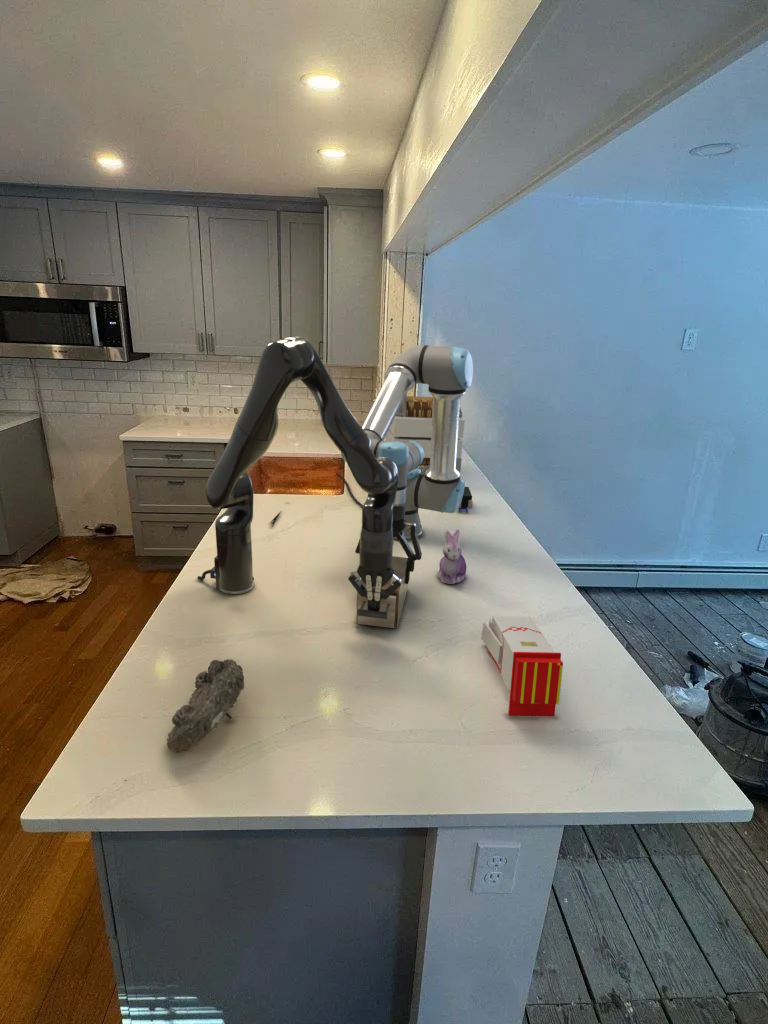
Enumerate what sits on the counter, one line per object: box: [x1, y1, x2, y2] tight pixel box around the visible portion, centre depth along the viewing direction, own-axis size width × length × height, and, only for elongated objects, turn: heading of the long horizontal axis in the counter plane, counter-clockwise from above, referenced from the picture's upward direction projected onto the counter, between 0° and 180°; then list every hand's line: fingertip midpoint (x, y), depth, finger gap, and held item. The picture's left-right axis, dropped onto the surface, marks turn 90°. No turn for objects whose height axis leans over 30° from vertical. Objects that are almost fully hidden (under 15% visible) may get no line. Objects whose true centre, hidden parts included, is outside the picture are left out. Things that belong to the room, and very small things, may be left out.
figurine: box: [438, 528, 467, 585], centre depth 166 cm, size 9×10×15 cm
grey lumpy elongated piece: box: [166, 658, 245, 754], centre depth 106 cm, size 22×10×15 cm
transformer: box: [384, 393, 465, 475], centre depth 268 cm, size 34×33×41 cm
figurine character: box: [458, 486, 474, 513], centre depth 227 cm, size 7×8×15 cm
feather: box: [268, 510, 282, 527], centre depth 212 cm, size 2×28×2 cm
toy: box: [481, 615, 564, 718], centre depth 123 cm, size 12×13×30 cm
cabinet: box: [356, 555, 409, 629], centre depth 149 cm, size 20×10×10 cm, turn 171°
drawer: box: [356, 592, 396, 629], centre depth 144 cm, size 24×9×8 cm, turn 171°
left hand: (373, 612), depth 135 cm, fingers closed
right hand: (387, 579), depth 154 cm, fingers closed on cabinet, 10 cm apart
